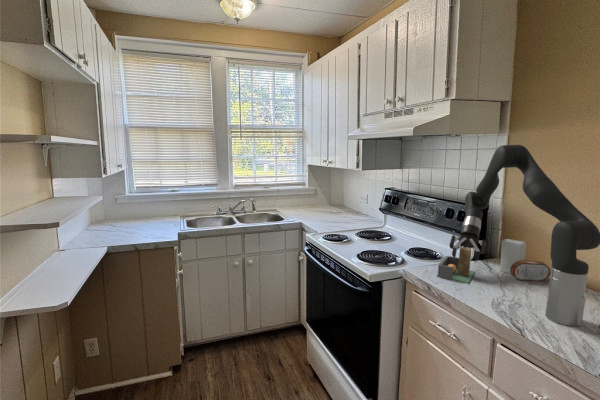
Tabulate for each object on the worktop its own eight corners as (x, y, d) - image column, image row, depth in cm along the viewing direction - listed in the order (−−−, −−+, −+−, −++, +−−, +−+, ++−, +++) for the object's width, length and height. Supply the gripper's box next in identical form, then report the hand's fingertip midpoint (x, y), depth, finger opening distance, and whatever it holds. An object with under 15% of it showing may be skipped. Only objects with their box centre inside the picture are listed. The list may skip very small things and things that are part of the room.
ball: (449, 261, 152) (446, 268, 153) (447, 264, 149) (445, 272, 150) (458, 264, 150) (455, 272, 151) (457, 268, 147) (454, 275, 148)
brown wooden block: (469, 274, 148) (471, 248, 146) (467, 277, 145) (469, 250, 143) (459, 272, 151) (461, 247, 149) (457, 275, 147) (459, 249, 145)
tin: (545, 279, 144) (547, 260, 143) (550, 282, 141) (552, 263, 140) (508, 278, 146) (511, 259, 145) (512, 280, 143) (514, 262, 141)
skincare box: (524, 273, 151) (527, 241, 149) (518, 276, 147) (522, 244, 145) (504, 268, 158) (507, 237, 155) (498, 270, 154) (501, 239, 152)
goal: (474, 272, 152) (475, 260, 151) (468, 283, 139) (469, 271, 139) (444, 266, 160) (445, 255, 159) (436, 276, 147) (437, 264, 146)
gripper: (453, 221, 156) (446, 251, 149) (488, 225, 148) (482, 257, 140) (455, 230, 161) (448, 259, 154) (488, 235, 153) (482, 265, 146)
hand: (464, 258), depth 147 cm, fingers open, 8 cm apart
